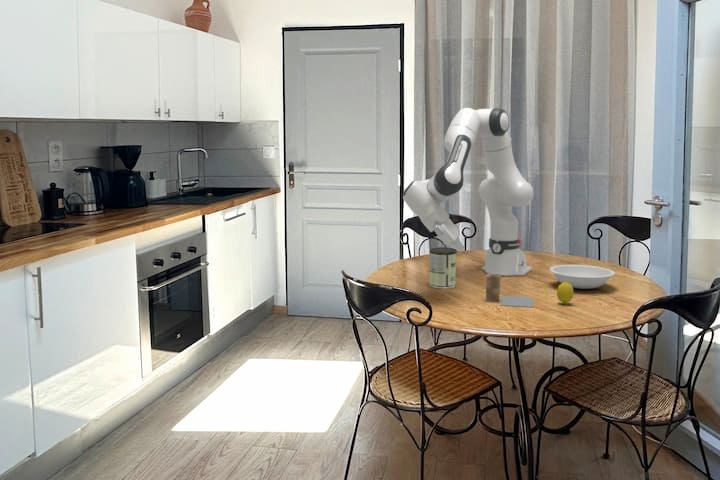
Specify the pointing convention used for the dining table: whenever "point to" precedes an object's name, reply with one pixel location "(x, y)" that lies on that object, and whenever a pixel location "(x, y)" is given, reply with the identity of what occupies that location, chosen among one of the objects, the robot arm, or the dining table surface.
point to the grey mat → (517, 301)
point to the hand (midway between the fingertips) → (463, 250)
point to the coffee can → (442, 268)
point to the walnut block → (493, 287)
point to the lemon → (565, 292)
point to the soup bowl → (582, 275)
